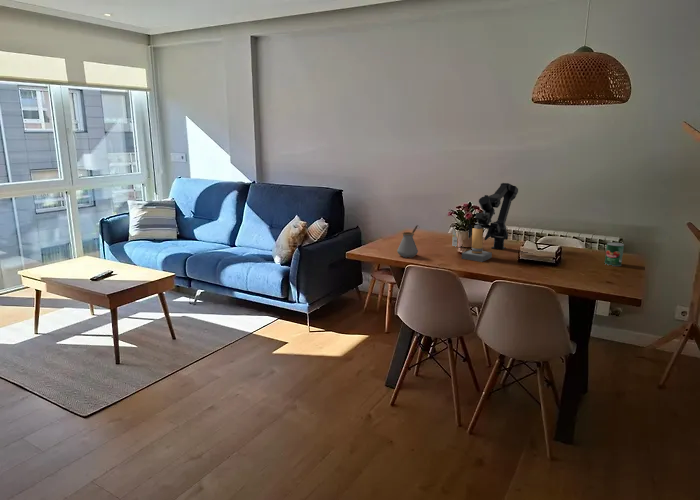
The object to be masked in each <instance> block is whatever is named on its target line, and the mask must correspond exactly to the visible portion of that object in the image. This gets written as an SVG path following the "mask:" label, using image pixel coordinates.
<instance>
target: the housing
mask: <svg viewBox="0 0 700 500" xmlns="http://www.w3.org/2000/svg"><path fill="white" fill-rule="evenodd" d="M483 236H484V228H481V226H479V225H474V228H472V235H471V249H472V253H482V251H484V250H483V249H484V248H483V245H484V244H483V241H484V237H483Z"/></svg>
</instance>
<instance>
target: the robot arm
mask: <svg viewBox="0 0 700 500" xmlns="http://www.w3.org/2000/svg"><path fill="white" fill-rule="evenodd" d="M518 193H519V187H517V186H515V185H513V184H511V183H508V182H502V183H500V186H499V187H498V188H497V190H496V191H494V193H493V194H490V195H487V194H484V196H482V197H480V198H479V199H478V204H479V207H480V209H481V210H482V212H476V213H475V216H474V218H475V219H476V222H474V223H475V225H479V226H481V228H483V229H488V230H487V232H486V235H485V237H484V241H487V240H488V239H490V238H491V239H493V246H491V247H490V248H491V249H494V250H504V249H506V247H505V246H504V245H505V240H508V238H509V234H508V231H507V229H508V228H507V225H506V221H507V219H508V214H509V211H510V209H511V208H510V207H511V205H512V201H514V199H516V197H517V195H518ZM502 199H503V200H502ZM501 200H502V202H501ZM499 207H500V209H499V213H498V216H497V219H496V221H493V222H492V218H493V216H494V215H495V214H496V212H495V211H496V210H495V209H496V208H499ZM473 226H474V225H473ZM468 228H469V232H468V239H471V238H472V225H471V224H469V226H468Z"/></svg>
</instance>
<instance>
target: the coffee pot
mask: <svg viewBox="0 0 700 500" xmlns="http://www.w3.org/2000/svg"><path fill="white" fill-rule="evenodd" d="M418 228H419V225H418V224H416V225H415V226H414V228H413V230H412V232H409V231H408V232H405V231H404V232H402V233H401V234H402V239H401V241H400V243H399V246H398V248H397V251H396V252H397V254H398V255H399V256H400V255H401V256H403V257H402V258H407V257H410V258H414V257H415V256H416V255H418V253H419V250H418V247H417V245H416V243H415V239H414V236H415V232H416V231H417V229H418ZM401 256H400V257H401Z"/></svg>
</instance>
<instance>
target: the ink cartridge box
mask: <svg viewBox="0 0 700 500" xmlns="http://www.w3.org/2000/svg"><path fill="white" fill-rule="evenodd" d="M451 240H452V246H455V247H454V248H457V247H456V246H457V237H456V233H455V231H454V229H453V228H452V239H451Z"/></svg>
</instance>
